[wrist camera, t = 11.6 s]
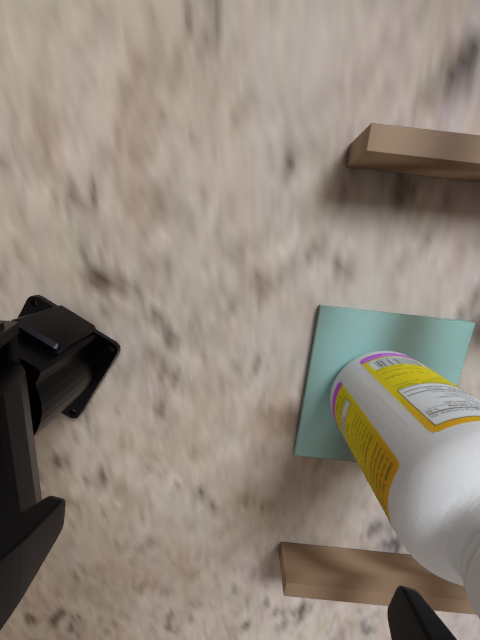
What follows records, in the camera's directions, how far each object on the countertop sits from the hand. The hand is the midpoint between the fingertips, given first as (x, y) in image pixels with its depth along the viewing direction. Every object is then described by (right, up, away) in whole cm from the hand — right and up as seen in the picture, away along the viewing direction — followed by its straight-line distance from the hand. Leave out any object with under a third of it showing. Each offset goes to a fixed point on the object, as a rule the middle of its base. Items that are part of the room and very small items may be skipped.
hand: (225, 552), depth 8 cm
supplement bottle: (+10, +1, +13) cm, 16 cm away
